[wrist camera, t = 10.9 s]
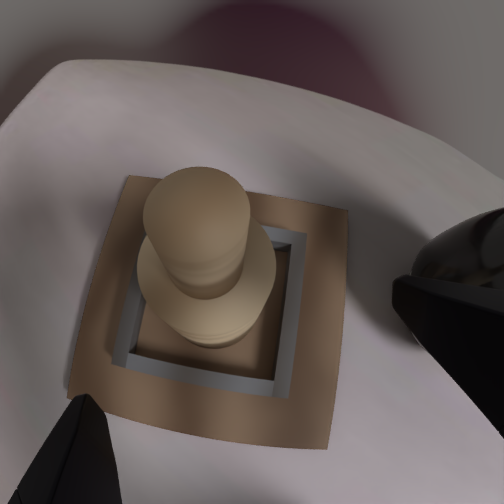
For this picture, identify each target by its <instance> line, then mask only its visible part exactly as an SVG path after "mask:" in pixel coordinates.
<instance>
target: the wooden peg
mask: <svg viewBox="0 0 504 504" xmlns="http://www.w3.org/2000/svg"><path fill="white" fill-rule="evenodd" d="M143 224H144V228H145V231H146V234H147V235H146V237H145V239H144V241H143V243H142V245H141V248H140V252H139V255H138V262H137V276H138V282H139V286H140V290H141V292H142V294H143V297H144V298H145V300H146V302H147V303H148V305H149V306H150V308H151V309H152V310H153V311H154V312H155V313H156V314H157V315H158V316H159V317H160V318H161V319H162V320H163V321H165V322H166V323H167V324H168V325H169V326H170V327H172V328H173V329H174V330H175V331H176V332H178V333H179V334H180V335H181V336H182V337H184V338H185V339H186V340H188V341H189V342H191V343H192V344H194V345H197V346H199V347H202V348H208V349H221V348H225V347H229V346H232V345H234V344H236V343H238V342H239V341H240V340H242V339H243V338H244V337H245V336H246V335H247V334H248V333H249V332H250V331H251V329H252V328H253V326H254V324H255V322H256V320H257V318H258V316H259V314H260V313H261V311H262V309H263V307H264V305H265V303H266V301H267V299H268V297H269V295H270V292H271V290H272V288H273V284H274V281H275V275H276V258H275V252H274V249H273V245H272V243H271V240H270V238H269V236H268V235H267V233H266V231H265V230H264V229H263V227H262V226H261V225H260V224H259V223H258V222H257V221H256V220H255V219H254V218H253V217H252V216H250V203H249V199H248V196H247V194H246V192H245V190H244V189H243V187H242V186H241V185H240V184H239V182H238V181H236V180H235V179H234V178H233V177H232V176H230V175H229V174H227V173H225V172H223V171H220V170H218V169H214V168H209V167H190V168H185V169H181V170H178V171H176V172H174V173H172V174H170V175H168V176H166V177H165V178H164V179H162V180H161V181H160V182H159V183H158V184H157V185H156V186H155V187H154V188H153V189H152V191H151V192H150V194H149V196H148V198H147V200H146V202H145V205H144V210H143Z"/></svg>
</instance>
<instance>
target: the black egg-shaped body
mask: <svg viewBox="0 0 504 504" xmlns="http://www.w3.org/2000/svg"><path fill="white" fill-rule="evenodd" d="M410 276H417V277H423V278H429V279H436V280H442V281H448V282H455V283H461V284H467V285H474V286H480V287H486V288H492V289H499V290H504V207H503V208H499V209H495V210H492V211H488V212H485V213H482V214H479V215H477V216H474V217H472V218H469V219H467V220H465V221H463V222H461V223H459V224H457V225H455V226H453V227H451V228H450V229H448V230H446V231H444V232H442V233H441V234H439V235H438V236H436V237H435V238H433V239H432V240H431V241H430V242H428V243H427V244H426V245H425V246H424V247H423V248H422V250H421V251H420V252H419V254H418V255H417V257H416V259H415V262H414V264H413V267H412V270H411V273H410ZM412 334H413V333H412ZM413 336H414V335H413ZM414 337H415V336H414ZM415 339H416V340H417V338H416V337H415ZM417 342H418V343H419V344H420V345H421V343H420V342H419V341H418V340H417ZM421 346H422V345H421ZM422 348H424V347H423V346H422ZM424 349H425V348H424ZM425 350H426V349H425ZM426 351H427V350H426ZM427 352H428V351H427ZM428 353H429V352H428Z"/></svg>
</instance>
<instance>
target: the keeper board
mask: <svg viewBox="0 0 504 504" xmlns="http://www.w3.org/2000/svg"><path fill="white" fill-rule="evenodd" d="M161 180H162V179H157V178H149V177H141V176H132V175H129V177H128V179H127V182H126V184H125V187H124V189H123V192H122V194H121V197H120V199H119V202H118V204H117V207H116V210H115V213H114V215H113V218H112V221H111V224H110V226H109V229H108V232H107V235H106V238H105V241H104V244H103V247H102V250H101V253H100V256H99V259H98V263H97V266H96V269H95V273H94V276H93V279H92V283H91V286H90V290H89V294H88V297H87V301H86V305H85V309H84V313H83V317H82V321H81V325H80V330H79V334H78V339H77V343H76V348H75V353H74V358H73V363H72V369H71V374H70V380H69V387H68V393H67V398H68V399H71V400H72V399H73V398H74V397H75V396H77V395H81V394H85V393H88V394H90V395H91V396H92V398H93V399H94V400H95V401H96V403H97V404H98V405H99V407H100V408H101V409H102V410H103V411H104V412H107V413H110V414H113V415H116V416H119V417H122V418H126V419H129V420H132V421H136V422H140V423H143V424H147V425H151V426H155V427H159V428H163V429H167V430H171V431H175V432H180V433H185V434H189V435H194V436H200V437H205V438H210V439H216V440H222V441H229V442H236V443H243V444H251V445H260V446H270V447H282V448H297V449H322V450H327V448H328V442H329V436H330V430H331V424H332V417H333V411H334V404H335V396H336V389H337V381H338V372H339V364H340V354H341V344H342V333H343V321H344V307H345V291H346V271H347V240H348V210H343V209H338V208H334V207H329V206H324V205H319V204H314V203H308V202H303V201H298V200H293V199H287V198H282V197H276V196H271V195H265V194H259V193H253V192H247V191H245V192H246V194H247V196H248V199H249V203H250V216H252V217H253V218H254V219H255V220H256V221H257V222H258V223H259V224H260V225H261V226H262V227H263V229H264V230H265V231H266V233H267V235H268V236H269V238H270V240H271V243H272V245H273V249H274V252H275V258H276V275H275V281H274V284H273V288H272V290H271V292H270V295H269V297H268V299H267V301H266V303H265V305H264V307H263V309H262V311H261V313H260V314H259V316H258V318H257V320H256V322H255V324H254V326H253V328H252V329H251V331H250V332H249V333H248V334H247V335H246V336H245V337H244V338H243V339H242V340H240V341H239V342H238V343H236V344H234V345H232V346H229V347H225V348H221V349H208V348H202V347H199V346H197V345H194V344H192V343H191V342H189V341H188V340H186V339H185V338H184V337H182V336H181V335H180V334H179V333H178V332H176V331H175V330H174V329H173V328H172V327H170V326H169V325H168V324H167V323H166V322H165V321H163V320H162V319H161V318H160V317H159V316H158V315H157V314H156V313H155V312H154V311H153V310H152V309H151V308H150V306H149V305H148V303H147V302H146V300H145V298H144V297H143V294H142V292H141V290H140V286H139V282H138V276H137V262H138V255H139V252H140V248H141V245H142V243H143V241H144V239H145V237H146V235H147V234H146V231H145V228H144V224H143V210H144V205H145V202H146V200H147V198H148V196H149V194H150V192H151V191H152V189H153V188H154V187H155V186H156V185H157V184H158V183H159V182H160V181H161Z"/></svg>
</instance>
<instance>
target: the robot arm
mask: <svg viewBox="0 0 504 504" xmlns="http://www.w3.org/2000/svg"><path fill="white" fill-rule="evenodd" d="M392 305H393V308H394V310H395V311H396V313H397V314H398V315H399V316H400V318H401V319H402V320H403V321H404V323H405V324H406V325H407V327H408V328H409V329H410V331H411V332H412V333H413V335H414V336H415V337H416V338H417V340H418V341H419V342H420V343H421V345H422V346H423V347H424V348H425V349H426V350H427V351H428V352H429V353H430V355H431V356H432V357H433V358H434V359H435V360H436V361H437V362H438V363H439V364H440V365H441V366H442V368H443V369H444V370H445V371H446V372H447V373H448V374H449V375H450V376H451V377H452V379H453V380H454V381H455V382H456V383H457V384H458V385H459V386H460V388H461V389H462V390H463V391H464V392H465V393H466V394H467V395H468V397H469V398H470V399H471V400H472V401H473V402H474V404H475V405H476V406H477V407H478V408H479V409H480V411H481V412H482V413H483V414H484V415H485V416H486V418H487V419H488V420H489V421H490V422H491V424H492V425H493V426H494V427H495V428H496V430H497V431H499V433H500V435H501V436H502V437H503V438H504V290H499V289H492V288H486V287H480V286H474V285H467V284H461V283H455V282H448V281H442V280H436V279H429V278H423V277H417V276H410V275H403V276H401V277H399V278H397V279H395V280H394V281H393V287H392ZM8 504H122V499H121V493H120V486H119V479H118V472H117V466H116V461H115V457H114V452H113V448H112V443H111V438H110V433H109V428H108V423H107V418H106V415H105V413H104V412H103V410H102V409H101V408H100V407H99V405H98V404H97V403H96V401H95V400H94V399H93V398H92V396H91V395H90V394H88V393H85V394H81V395H77V396H75V397H74V398H73V399H72V401H71V402H70V404H69V405H68V407H67V408H66V410H65V411H64V413H63V414H62V416H61V417H60V419H59V420H58V422H57V423H56V425H55V426H54V428H53V430H52V431H51V433H50V434H49V436H48V437H47V439H46V441H45V442H44V444H43V445H42V447H41V448H40V450H39V452H38V453H37V455H36V456H35V458H34V460H33V461H32V463H31V465H30V466H29V468H28V470H27V471H26V473H25V475H24V476H23V478H22V480H21V481H20V483H19V485H18V487H17V489H16V490H15V492H14V493H13V495H12V497H11V499H10V500H9V502H8Z"/></svg>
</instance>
